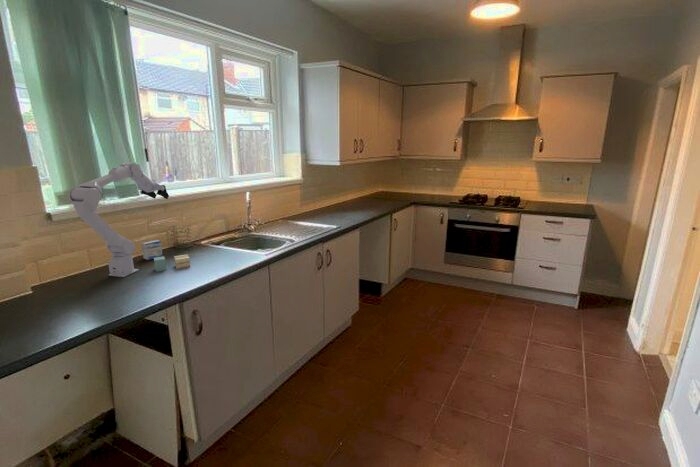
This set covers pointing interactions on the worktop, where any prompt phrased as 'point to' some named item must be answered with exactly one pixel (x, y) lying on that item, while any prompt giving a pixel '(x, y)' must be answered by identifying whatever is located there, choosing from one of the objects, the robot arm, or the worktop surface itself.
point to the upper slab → (181, 259)
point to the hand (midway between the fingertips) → (161, 197)
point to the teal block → (160, 263)
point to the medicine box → (152, 249)
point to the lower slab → (182, 265)
